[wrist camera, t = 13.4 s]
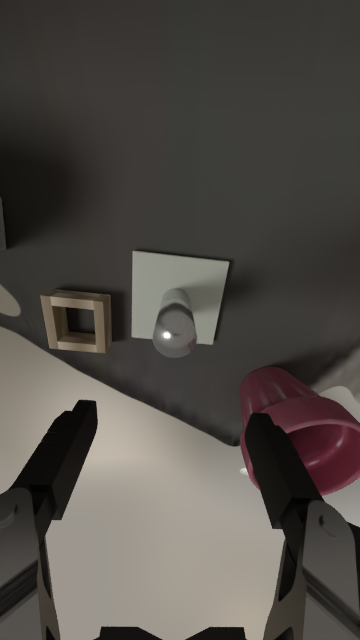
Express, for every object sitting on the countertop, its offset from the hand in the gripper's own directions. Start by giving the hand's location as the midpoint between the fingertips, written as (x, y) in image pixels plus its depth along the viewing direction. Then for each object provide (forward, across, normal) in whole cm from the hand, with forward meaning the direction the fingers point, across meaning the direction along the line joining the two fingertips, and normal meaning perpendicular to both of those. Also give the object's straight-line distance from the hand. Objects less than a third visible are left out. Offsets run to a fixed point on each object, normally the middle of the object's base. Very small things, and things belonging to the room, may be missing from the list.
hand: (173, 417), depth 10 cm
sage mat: (+19, 0, 0) cm, 19 cm away
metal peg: (+18, 0, 0) cm, 18 cm away
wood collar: (+19, +13, +4) cm, 24 cm away
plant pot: (+19, -17, +14) cm, 29 cm away
